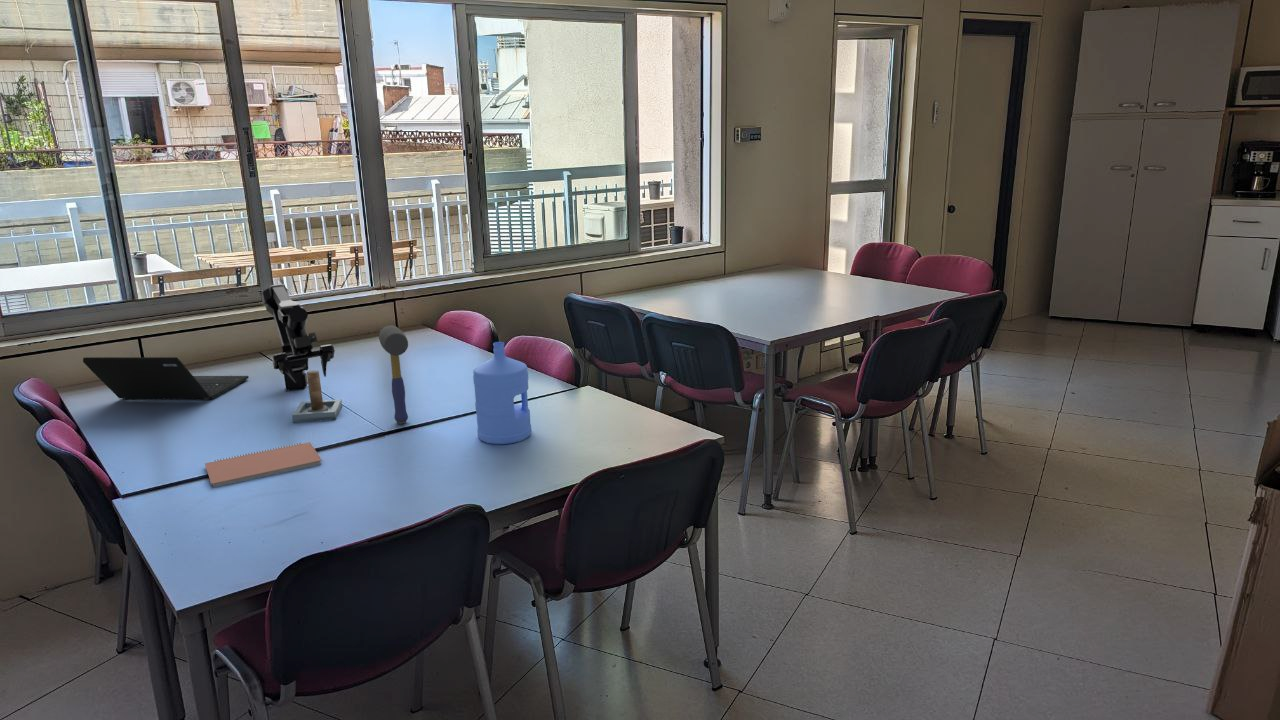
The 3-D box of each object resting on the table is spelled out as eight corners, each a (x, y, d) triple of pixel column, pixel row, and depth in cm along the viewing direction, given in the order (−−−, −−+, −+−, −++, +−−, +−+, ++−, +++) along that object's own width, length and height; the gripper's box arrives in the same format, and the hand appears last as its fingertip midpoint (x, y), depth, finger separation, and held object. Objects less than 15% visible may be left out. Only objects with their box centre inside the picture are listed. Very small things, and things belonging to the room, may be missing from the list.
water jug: (480, 448, 237) (473, 352, 229) (475, 429, 252) (468, 339, 244) (535, 441, 241) (530, 347, 233) (527, 423, 256) (522, 334, 248)
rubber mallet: (386, 418, 262) (375, 325, 254) (410, 414, 265) (401, 322, 257) (392, 431, 251) (382, 334, 243) (418, 427, 254) (408, 331, 246)
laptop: (250, 380, 305) (242, 328, 300) (187, 415, 269) (177, 357, 264) (164, 379, 308) (155, 328, 303) (91, 414, 272) (78, 356, 267)
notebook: (309, 446, 242) (309, 440, 242) (322, 465, 228) (321, 459, 228) (205, 467, 228) (204, 461, 228) (212, 489, 215) (211, 482, 214)
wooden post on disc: (304, 413, 265) (298, 374, 261) (314, 407, 270) (309, 369, 267) (321, 414, 264) (315, 375, 260) (331, 408, 269) (326, 369, 265)
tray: (293, 422, 260) (292, 415, 259) (301, 409, 272) (300, 402, 271) (335, 419, 262) (334, 411, 262) (342, 406, 274) (341, 399, 273)
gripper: (268, 330, 265) (280, 373, 260) (328, 320, 275) (342, 361, 269) (267, 348, 274) (279, 389, 269) (326, 337, 284) (339, 377, 278)
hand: (310, 379), depth 271 cm, fingers open, 9 cm apart
